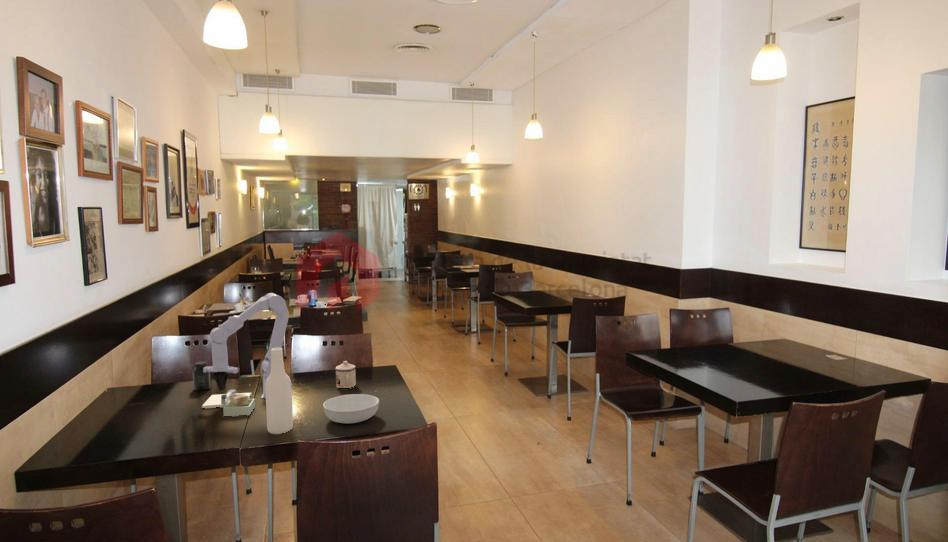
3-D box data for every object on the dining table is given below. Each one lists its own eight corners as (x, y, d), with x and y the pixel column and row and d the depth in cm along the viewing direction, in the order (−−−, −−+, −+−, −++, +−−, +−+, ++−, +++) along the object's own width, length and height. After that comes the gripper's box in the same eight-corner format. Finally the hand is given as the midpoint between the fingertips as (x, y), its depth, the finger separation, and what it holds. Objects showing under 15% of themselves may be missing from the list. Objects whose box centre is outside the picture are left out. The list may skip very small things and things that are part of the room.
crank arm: (228, 394, 236) (228, 387, 235) (237, 394, 236) (237, 386, 236) (218, 404, 224) (218, 396, 223) (228, 403, 224) (227, 395, 224)
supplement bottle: (213, 386, 252) (212, 361, 251) (204, 391, 245) (203, 365, 244) (199, 386, 253) (197, 360, 252) (190, 391, 246) (188, 364, 245)
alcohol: (287, 423, 206) (283, 344, 203) (297, 430, 199) (293, 348, 196) (263, 429, 200) (259, 348, 197) (273, 436, 193) (269, 352, 191)
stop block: (243, 407, 223) (242, 392, 222) (248, 410, 219) (248, 395, 218) (231, 410, 219) (230, 395, 218) (235, 413, 216) (235, 398, 215)
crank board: (251, 395, 239) (251, 391, 239) (244, 406, 226) (243, 402, 226) (212, 397, 237) (211, 394, 237) (202, 408, 223) (201, 405, 223)
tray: (255, 406, 224) (254, 398, 224) (250, 415, 215) (249, 406, 215) (230, 408, 223) (229, 400, 222) (223, 417, 213) (223, 408, 213)
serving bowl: (390, 415, 214) (390, 398, 213) (353, 434, 196) (352, 415, 195) (350, 406, 224) (350, 390, 223) (311, 423, 206) (310, 405, 206)
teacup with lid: (334, 384, 254) (334, 359, 252) (355, 382, 256) (354, 358, 255) (337, 392, 242) (336, 366, 241) (358, 390, 245) (357, 364, 244)
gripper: (197, 359, 223) (199, 391, 225) (230, 360, 221) (232, 393, 222) (208, 354, 230) (210, 386, 232) (240, 355, 228) (242, 387, 229)
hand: (222, 389), depth 227 cm, fingers closed
